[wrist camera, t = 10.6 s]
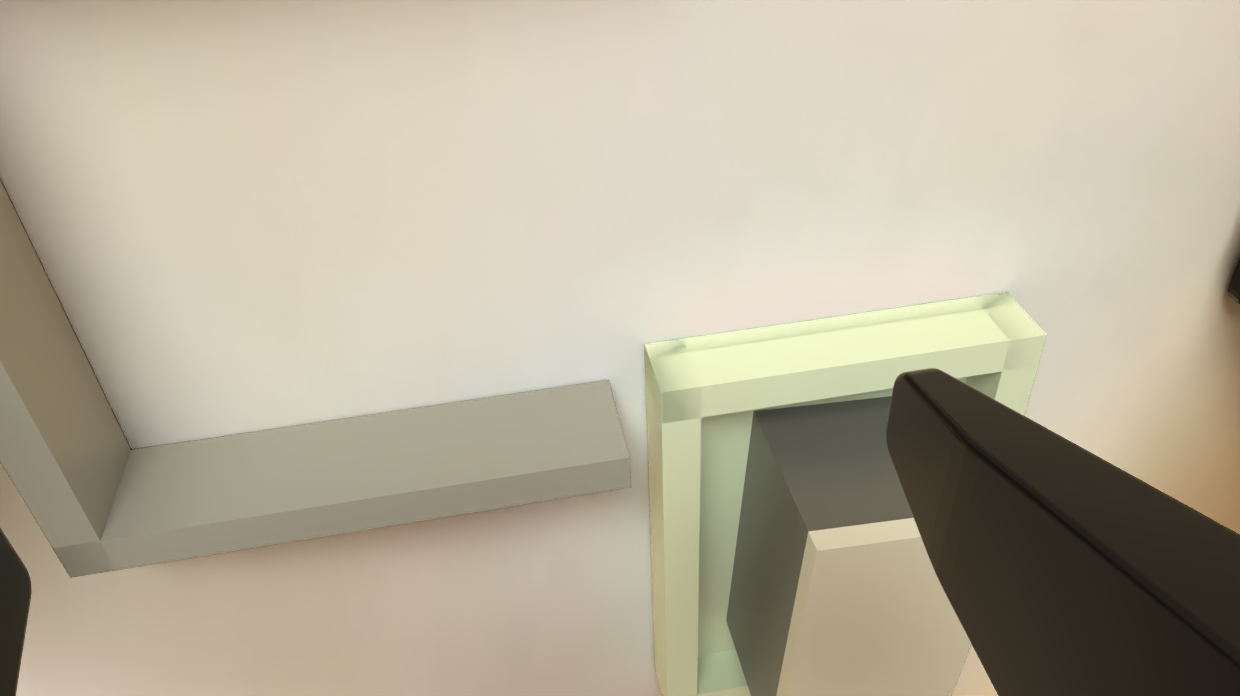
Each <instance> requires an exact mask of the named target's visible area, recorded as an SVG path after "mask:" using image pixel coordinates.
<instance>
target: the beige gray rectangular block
mask: <svg viewBox="0 0 1240 696" xmlns="http://www.w3.org/2000/svg"><path fill="white" fill-rule="evenodd" d="M891 397H892V396H887V397H878V398H869V399H860V400H851V401H842V402H833V403H823V404H814V405H805V406H796V407H787V408H778V409H768V410H759V411H754V412H753V420H752V428H751V435H750V443H749V450H748V458H747V466H746V473H745V481H744V489H743V496H742V504H741V512H740V519H739V527H738V535H737V542H736V550H735V558H734V565H733V573H732V581H731V588H730V596H729V604H728V611H727V619H726V621H727V625H728V628H729V631H730V634H731V637H732V640H733V643H734V646H735V649H736V652H737V655H738V658H739V661H740V664H741V667H742V670H743V673H744V676H745V679H746V682H747V685H748V688H749V691H750V694H751V696H952V693H953V691H954V688H955V686H956V683H957V680H958V678H959V675H960V673H961V670H962V667H963V665H964V662H965V660H966V657H967V654H968V652H969V649H970V647H971V642H970V640H969V638H968V636H967V634H966V632H965V630H964V628H963V627H962V625H961V623H960V621H959V619H958V617H957V615H956V613H955V611H954V609H953V607H952V605H951V604H950V602H949V600H948V598H947V596H946V594H945V592H944V590H943V588H942V586H941V584H940V582H939V580H938V578H937V575H936V573H935V571H934V569H933V566H932V564H931V561H930V559H929V557H928V554H927V551H926V549H925V546H924V544H923V541H922V538H921V536H920V533H919V531H918V528H917V525H916V523H915V520H914V518H913V515H912V512H911V510H910V507H909V504H908V502H907V499H906V497H905V494H904V491H903V489H902V486H901V484H900V481H899V478H898V476H897V473H896V470H895V468H894V465H893V463H892V460H891V457H890V455H889V452H888V448H887V443H886V426H887V420H888V414H889V409H890V403H891Z"/></svg>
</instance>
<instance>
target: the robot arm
mask: <svg viewBox="0 0 1240 696" xmlns="http://www.w3.org/2000/svg"><path fill="white" fill-rule="evenodd" d="M1228 293H1229V296H1230V297H1231V298H1233V299H1234V300H1235V301H1237V302H1238V303H1239V304H1240V261H1239V264H1238V266H1237V268H1236V271H1235V273H1234V276H1233V278H1232V280H1231V283H1230V285H1229V289H1228ZM886 443H887V448H888V452H889V455H890V457H891V460H892V463H893V465H894V468H895V470H896V473H897V476H898V478H899V481H900V484H901V486H902V489H903V491H904V494H905V497H906V499H907V502H908V504H909V507H910V510H911V512H912V515H913V518H914V520H915V523H916V525H917V528H918V531H919V533H920V536H921V538H922V541H923V544H924V546H925V549H926V551H927V554H928V557H929V559H930V561H931V564H932V566H933V569H934V571H935V573H936V575H937V578H938V580H939V582H940V584H941V586H942V588H943V590H944V592H945V594H946V596H947V598H948V600H949V602H950V604H951V605H952V607H953V609H954V611H955V613H956V615H957V617H958V619H959V621H960V623H961V625H962V627H963V628H964V630H965V632H966V634H967V636H968V638H969V640H970V642H971V644H972V646H973V648H974V650H975V651H976V653H977V655H978V657H979V659H980V661H981V663H982V665H983V667H984V669H985V671H986V673H987V674H988V676H989V678H990V680H991V682H992V684H993V686H994V688H995V690H996V692H997V694H998V696H1240V535H1239V534H1238V533H1236V532H1234V531H1232V530H1230V529H1228V528H1227V527H1225V526H1223V525H1221V524H1219V523H1218V522H1216V521H1214V520H1212V519H1210V518H1209V517H1207V516H1205V515H1203V514H1201V513H1199V512H1198V511H1196V510H1194V509H1192V508H1190V507H1189V506H1187V505H1185V504H1183V503H1181V502H1179V501H1178V500H1176V499H1174V498H1172V497H1170V496H1169V495H1167V494H1165V493H1163V492H1161V491H1160V490H1158V489H1156V488H1154V487H1152V486H1150V485H1149V484H1147V483H1145V482H1143V481H1141V480H1140V479H1138V478H1136V477H1134V476H1132V475H1130V474H1129V473H1127V472H1125V471H1123V470H1121V469H1120V468H1118V467H1116V466H1114V465H1112V464H1111V463H1109V462H1107V461H1105V460H1103V459H1101V458H1100V457H1098V456H1096V455H1094V454H1092V453H1091V452H1089V451H1087V450H1085V449H1083V448H1081V447H1080V446H1078V445H1076V444H1074V443H1072V442H1071V441H1069V440H1067V439H1065V438H1063V437H1062V436H1060V435H1058V434H1056V433H1054V432H1052V431H1051V430H1049V429H1047V428H1045V427H1043V426H1042V425H1040V424H1038V423H1036V422H1034V421H1032V420H1031V419H1029V418H1027V417H1025V416H1023V415H1022V414H1020V413H1018V412H1016V411H1014V410H1013V409H1011V408H1009V407H1007V406H1005V405H1003V404H1002V403H1000V402H998V401H996V400H994V399H993V398H991V397H989V396H987V395H985V394H983V393H982V392H980V391H978V390H976V389H974V388H973V387H971V386H969V385H967V384H965V383H964V382H962V381H960V380H958V379H956V378H954V377H953V376H951V375H949V374H947V373H945V372H944V371H941V370H939V369H936V368H927V369H921V370H915V371H908V372H903V373H901V374H899V375H898V376H897V378H896V380H895V382H894V386H893V391H892V397H891V403H890V409H889V414H888V420H887V426H886ZM30 600H31V581H30V577H29V574H28V571H27V569H26V567H25V565H24V564H23V562H22V561H21V559H20V558H19V556H18V555H17V553H16V552H15V550H14V548H13V547H12V545H11V544H10V542H9V541H8V539H7V538H6V536H5V535H4V533H3V531H2V530H1V528H0V696H16V691H17V684H18V678H19V671H20V665H21V658H22V652H23V645H24V639H25V632H26V626H27V619H28V613H29V606H30Z"/></svg>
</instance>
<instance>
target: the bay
mask: <svg viewBox="0 0 1240 696" xmlns="http://www.w3.org/2000/svg"><path fill="white" fill-rule="evenodd" d="M0 462H1V463H2V465H3V467H4V468H5V470H6V472H7V473H8V475H9V477H10V478H11V480H12V482H13V483H14V485H15V487H16V488H17V490H18V492H19V493H20V495H21V497H22V498H23V500H24V502H25V503H26V505H27V507H28V508H29V510H30V512H31V513H32V515H33V516H34V518H35V520H36V521H37V523H38V525H39V526H40V528H41V530H42V531H43V533H44V535H45V536H46V538H47V540H48V541H49V543H50V545H51V546H52V548H53V550H54V551H55V553H56V555H57V556H58V558H59V560H60V561H61V563H62V564H63V566H64V568H65V569H66V571H67V573H68V574H69V576H70V578H71V577H77V576H83V575H89V574H96V573H102V572H108V571H114V570H121V569H127V568H133V567H139V566H145V565H152V564H158V563H164V562H170V561H176V560H183V559H189V558H195V557H201V556H207V555H214V554H220V553H226V552H232V551H238V550H245V549H251V548H257V547H263V546H269V545H276V544H282V543H288V542H294V541H300V540H307V539H313V538H319V537H325V536H331V535H338V534H344V533H350V532H356V531H362V530H369V529H375V528H381V527H387V526H394V525H400V524H406V523H412V522H418V521H425V520H431V519H437V518H443V517H449V516H456V515H462V514H468V513H474V512H480V511H487V510H493V509H499V508H505V507H511V506H518V505H524V504H530V503H536V502H542V501H549V500H555V499H561V498H567V497H573V496H580V495H586V494H592V493H598V492H604V491H611V490H617V489H623V488H629V487H631V475H630V457H629V453H628V450H627V446H626V442H625V439H624V435H623V431H622V428H621V424H620V421H619V417H618V413H617V410H616V406H615V402H614V399H613V395H612V392H611V388H610V384H609V381H608V380H604V381H597V382H590V383H583V384H576V385H570V386H563V387H556V388H549V389H542V390H536V391H529V392H522V393H515V394H508V395H502V396H495V397H488V398H481V399H474V400H467V401H461V402H454V403H447V404H440V405H433V406H427V407H420V408H413V409H406V410H399V411H393V412H386V413H379V414H372V415H365V416H359V417H352V418H345V419H338V420H331V421H325V422H318V423H311V424H304V425H297V426H291V427H284V428H277V429H270V430H263V431H257V432H250V433H243V434H236V435H229V436H222V437H216V438H209V439H202V440H195V441H188V442H182V443H175V444H168V445H161V446H154V447H148V448H141V449H134V450H131V449H130V447H129V445H128V443H127V441H126V439H125V436H124V434H123V432H122V430H121V428H120V426H119V424H118V422H117V420H116V418H115V416H114V414H113V412H112V410H111V408H110V405H109V403H108V401H107V399H106V397H105V395H104V393H103V391H102V389H101V387H100V385H99V383H98V381H97V379H96V377H95V374H94V372H93V370H92V368H91V366H90V364H89V362H88V360H87V358H86V356H85V354H84V352H83V350H82V348H81V346H80V343H79V341H78V339H77V337H76V335H75V333H74V331H73V329H72V327H71V325H70V323H69V321H68V319H67V317H66V314H65V312H64V310H63V308H62V306H61V304H60V302H59V300H58V298H57V296H56V294H55V292H54V290H53V288H52V286H51V283H50V281H49V279H48V277H47V275H46V273H45V271H44V269H43V267H42V265H41V263H40V261H39V259H38V257H37V255H36V252H35V250H34V248H33V246H32V244H31V242H30V240H29V238H28V236H27V234H26V232H25V230H24V228H23V226H22V224H21V221H20V219H19V217H18V215H17V213H16V211H15V209H14V207H13V205H12V203H11V201H10V199H9V197H8V195H7V192H6V190H5V188H4V186H3V184H2V182H1V180H0Z"/></svg>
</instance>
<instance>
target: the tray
mask: <svg viewBox="0 0 1240 696" xmlns="http://www.w3.org/2000/svg"><path fill="white" fill-rule="evenodd" d="M1046 337H1047V334H1046V333H1045V332H1044V331H1043V330H1042V329H1041V328H1040V327H1039V326H1038V325H1037V324H1036V323H1035V321H1034V320H1033V319H1032V318H1031V317H1030V316H1029V315H1028V314H1027V313H1026V312H1025V311H1024V310H1023V309H1022V307H1021V306H1020V305H1019V304H1018V303H1017V302H1016V301H1015V300H1014V299H1013V298H1012V297H1011V296H1010V295H1009V293H1008V292H1005V293H998V294H991V295H984V296H977V297H970V298H963V299H956V300H949V301H942V302H935V303H928V304H921V305H914V306H907V307H900V308H893V309H886V310H879V311H872V312H865V313H858V314H851V315H844V316H837V317H830V318H823V319H816V320H809V321H802V322H795V323H788V324H781V325H774V326H767V327H760V328H753V329H746V330H739V331H732V332H725V333H718V334H711V335H704V336H697V337H690V338H683V339H676V340H669V341H662V342H655V343H648V344H645V373H646V405H647V436H648V468H649V500H650V531H651V563H652V595H653V626H654V658H655V669H656V674H657V678H658V682H659V686H660V690H661V694H662V696H751V694H750V691H749V688H748V685H747V682H746V679H745V676H744V673H743V670H742V667H741V664H740V661H739V658H738V655H737V652H736V649H735V646H734V643H733V640H732V637H731V634H730V631H729V628H728V625H727V621H726V619H727V611H728V604H729V596H730V588H731V581H732V573H733V565H734V558H735V550H736V542H737V535H738V527H739V519H740V512H741V504H742V496H743V489H744V481H745V473H746V466H747V458H748V450H749V443H750V435H751V428H752V420H753V412H754V411H759V410H768V409H778V408H787V407H796V406H805V405H814V404H823V403H833V402H842V401H851V400H860V399H869V398H878V397H887V396H892V391H893V386H894V382H895V380H896V378H897V376H898V375H899V374H901V373H903V372H908V371H915V370H921V369H927V368H936V369H939V370H941V371H944V372H945V373H947V374H949V375H951V376H953V377H954V378H956V379H958V380H960V381H962V382H964V383H965V384H967V385H969V386H971V387H973V388H974V389H976V390H978V391H980V392H982V393H983V394H985V395H987V396H989V397H991V398H993V399H994V400H996V401H998V402H1000V403H1002V404H1003V405H1005V406H1007V407H1009V408H1011V409H1013V410H1014V411H1016V412H1018V413H1020V414H1022V415H1023V416H1024V413H1025V410H1026V406H1027V403H1028V399H1029V396H1030V392H1031V389H1032V385H1033V382H1034V378H1035V375H1036V371H1037V368H1038V364H1039V361H1040V358H1041V354H1042V351H1043V347H1044V344H1045V340H1046Z"/></svg>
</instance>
